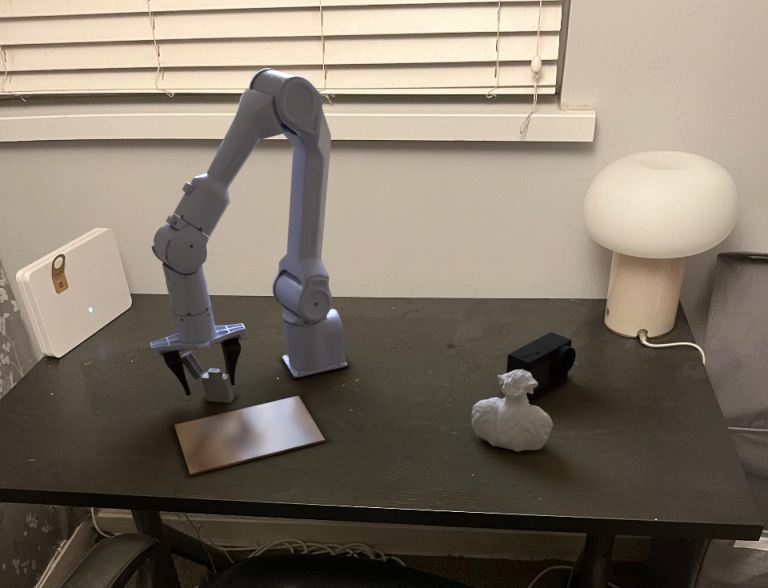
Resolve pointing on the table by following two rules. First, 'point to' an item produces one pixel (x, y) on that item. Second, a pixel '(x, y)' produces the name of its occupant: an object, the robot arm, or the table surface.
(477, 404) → the bust
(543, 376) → the digital camera
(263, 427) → the wooden board
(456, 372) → the table surface
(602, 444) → the table surface
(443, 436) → the table surface
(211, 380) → the lighter
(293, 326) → the robot arm
